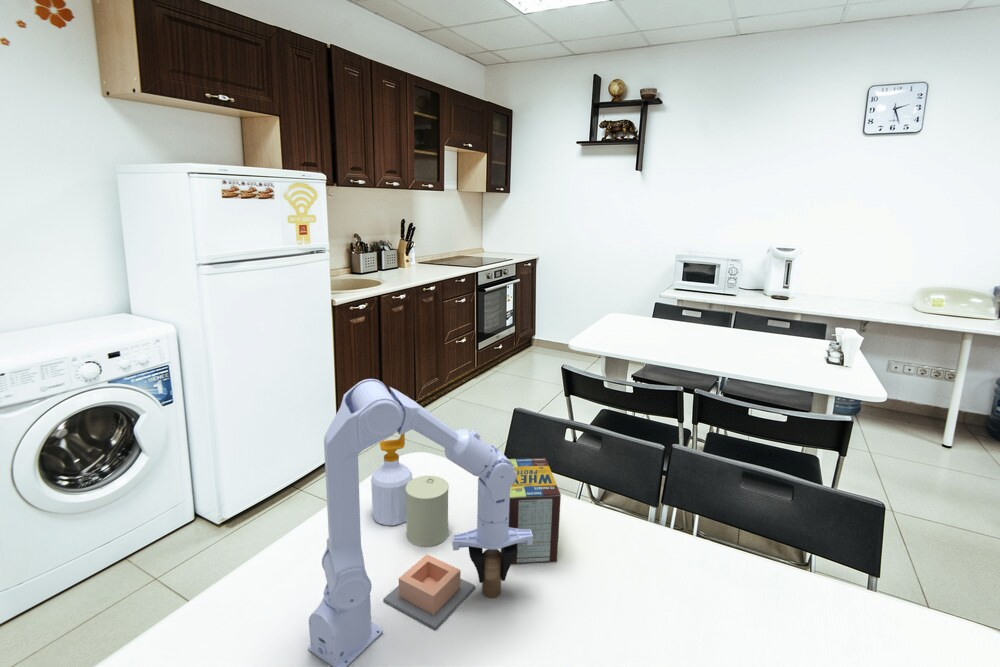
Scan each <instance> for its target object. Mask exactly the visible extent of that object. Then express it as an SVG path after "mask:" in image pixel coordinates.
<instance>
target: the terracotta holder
mask: <svg viewBox="0 0 1000 667" xmlns="http://www.w3.org/2000/svg"><path fill="white" fill-rule="evenodd" d="M475 589H476V585H475V584H473V583H471V582H469V581H466V580H465V579H463V578H461V569H460V568H458V567H455V566H453V565H452V564H451V565H450V564H448V563H447V562H445V561H443V560H440V559H438V558H436V557H434V556H432V555H430V554H428V553H427V554H425V555H423V556H422V558H420V560H418V561H417V562H416V563H415V564H414V565H412V566H411V567H410V568H409V569H408V570H407V571H405V572H404V573H403V574H402V575H401V576H399V577H398V585H397V586H396V587H395V588H394V589H393V590H392V591H390V593H388V594H386V596H385V597H383V599H382V600H383V603H385V604H386V605H388V606H390V607H392V608H395V610H398V611H400V612H402V613H404V614H405V615H406V616H409V617H410V618H412V619H415V620H416V621H417V622H419V623H421V624H423V625H425V626H427V627H429V628H430V629H433V630H434V631H436V630H437V629H438V628H439V627H440V626H441V625H442V624H443V623H444V622H445V621H446V620H447V619H448V618H449V617H450V616H451V615H452V613H453V612H454V611H455V610H456V609H457V608H458V607H459V606H460V605H461V604H462V603H463V602H464V601H465V600H466V599H467V598H468V596H470V594H471V593H473V591H474V590H475Z"/></svg>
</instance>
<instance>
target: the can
mask: <svg viewBox="0 0 1000 667" xmlns="http://www.w3.org/2000/svg"><path fill="white" fill-rule="evenodd" d="M449 487H450V486H449V483H448V482H447V480H446V479H444V478H443V477H440V476H436V475H422V476H418V477H415V478H412V480H411V481H409V482H408V483H407V485H406V488H405V490H406V507H407V521H406V538H407V540H408V542H410V543H411V544H413V546H418V547H421V548H422V547H424V548H425V547H428V548H429V547H434V546H438V545H440V544H443V542H445V541H446V540H447V539H448V537H449V534H450V530H449Z"/></svg>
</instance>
